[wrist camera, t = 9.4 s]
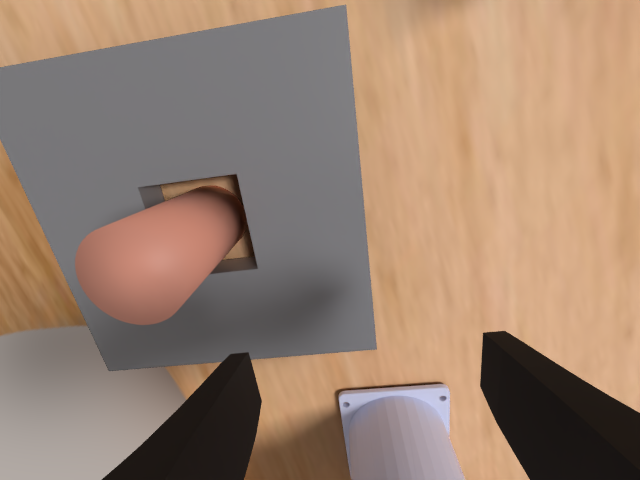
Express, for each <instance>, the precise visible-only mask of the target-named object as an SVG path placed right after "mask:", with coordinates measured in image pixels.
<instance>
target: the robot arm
mask: <svg viewBox="0 0 640 480" xmlns="http://www.w3.org/2000/svg"><path fill="white" fill-rule="evenodd" d="M480 387H481V389H482V391H483V394H484V396H485V398H486V400H487V403H488V405H489V407H490V409H491V412H492V414H493V416H494V418H495V420H496V422H497V424H498V426H499V428H500V429H501V431H502V433H503V434H504V436H505V438H506V440H507V441H508V443H509V445H510V447H511V448H512V450H513V452H514V453H515V455H516V457H517V458H518V460H519V462H520V464H521V465H522V467H523V469H524V470H525V472H526V474H527V475H528V477H529V479H530V480H640V413H639V412H637V411H635V410H633V409H632V408H630V407H628V406H626V405H625V404H623V403H621V402H619V401H618V400H616V399H614V398H612V397H611V396H609V395H607V394H605V393H604V392H602V391H600V390H599V389H597V388H595V387H594V386H592V385H590V384H589V383H587V382H585V381H584V380H582V379H581V378H579V377H577V376H576V375H574V374H572V373H571V372H569V371H568V370H566V369H564V368H563V367H561V366H560V365H558V364H556V363H555V362H553V361H552V360H550V359H549V358H547V357H545V356H544V355H542V354H541V353H539V352H538V351H536V350H534V349H533V348H531V347H530V346H528V345H527V344H525V343H524V342H522V341H520V340H519V339H517V338H516V337H514V336H512V335H511V334H509V333H507V332H506V331H499V332H486V333H483V346H482V364H481V383H480ZM441 396H442V397H441ZM261 402H262V401H261V397H260V393H259V389H258V386H257V382H256V378H255V374H254V370H253V367H252V363H251V359H250V355H249V352H246V353H234V354H230V355H229V356H228V357H227V358H226V359H225V360H224V361H223V362H222V363H221V364H220V365H219V366H218V367H217V368H216V369H215V370H214V372H213V373H212V374H211V375H210V376H209V377H208V378H207V379H206V380H205V381H204V382H203V383H202V384H201V386H200V387H199V388H198V389H197V390H196V391H195V392H194V393H193V394H192V395H191V396H190V397H189V398H188V399H187V400H186V401H185V402H184V404H182V406H181V407H180V408H179V409H178V410H177V411H176V412H175V413H174V414H173V415H172V416H171V417H169V419H168V420H166V421H165V422H164V423H163V424H162V425H161V426H160V427H159V428H158V429H157V430H156V431H155V432H154V433H153V434H152V435H151V436H150V437H149V438H148V439H147V440H146V441H145V442H144V443H143V444H142V445H141V446H140V447H138V448H137V449H136V450H135V451H134V452H133V453H132V454H131V455H130V456H128V457H127V458H126V459H125V460H124V461H123V462H122V463H121V464H119V465H118V466H117V467H116V468H115V469H114V470H112V471H111V472H110V473H109V474H108V475H107V476H105V477H104V478H103V479H102V480H244V477H245V474H246V470H247V467H248V463H249V459H250V456H251V452H252V449H253V445H254V441H255V437H256V433H257V427H258V421H259V415H260V408H261ZM345 402H348V403H345ZM339 405H340V412H341V418H342V425H343V431H344V438H345V445H346V451H347V458H348V464H349V471H350V477H351V480H465V478H464V475H463V472H462V470H461V467H460V464H459V462H458V459H457V456H456V454H455V451H454V449H453V446H452V443H451V441H450V438H449V421H450V391H449V388H448V387H447V385H445V384H433V385H419V386H405V387H390V388H376V389H362V390H348V391H342V392H340V393H339Z"/></svg>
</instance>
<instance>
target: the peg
mask: <svg viewBox="0 0 640 480" xmlns="http://www.w3.org/2000/svg"><path fill="white" fill-rule="evenodd" d="M246 223H247V220H246V213H245V210H244V208H243V206H242V204H241V202H240V201H239V200H238V198H237V197H236V196H235V195H234V194H232V193H231V192H229V191H228V190H226V189H224V188H221V187H218V186H202V187H199V188H196V189H194V190H192V191H189V192H187V193H184V194H182V195H179V196H177V197H174V198H172V199H170V200H167V201H165V202H162V203H160V204H157V205H155V206H152V207H150V208H148V209H145V210H143V211H140V212H138V213H135V214H133V215H130V216H128V217H125V218H123V219H121V220H118V221H116V222H113V223H111V224H108V225H106V226H103V227H101V228H99V229H96V230H94V231H93V232H91V233H90V234H88V235H87V236H86V237H85V238H84V239H83V240H82V242H81V243H80V245H79V247H78V250H77V252H76V257H75V269H76V274H77V278H78V281H79V283H80V285H81V287H82V289H83V291H84V292H85V294H86V295H87V297H88V298H89V299H90V300H91V301H92V302H93V303H94V304H95V305H96V306H97V307H98V308H99V309H101V310H102V311H103V312H105V313H106V314H108V315H110V316H112V317H113V318H115V319H118V320H120V321H123V322H127V323H131V324H136V325H150V324H156V323H159V322H162V321H164V320H167V319H168V318H170V317H171V316H172V315H174V314H175V313H176V312H177V311H178V309H179V308H180V307H181V306H182V305H183V304H184V303H185V301H186V300H187V299H188V298H189V297H190V296H191V295H192V293H193V292H194V291H195V290H196V289H197V288H198V287H199V285H200V284H201V283H202V282H203V281H204V280H205V279H206V277H207V276H208V275H209V274H210V273H211V272H212V271H213V269H214V268H215V267H216V266H217V265H218V264H219V263H220V261H221V260H222V259H223V258H224V257H225V256H226V255H227V253H228V252H229V251H230V250H231V249H232V248H233V247H234V246H235V244H236V243H237V242H238V241H239V240H240V239H241V237H242V236H243V234H244V232H245V229H246Z"/></svg>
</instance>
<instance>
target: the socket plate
mask: <svg viewBox="0 0 640 480" xmlns="http://www.w3.org/2000/svg"><path fill="white" fill-rule="evenodd" d="M0 140H1V142H2V144H3V146H4V148H5V150H6V153H7V155H8V157H9V159H10V161H11V163H12V165H13V167H14V170H15V172H16V174H17V176H18V178H19V180H20V182H21V185H22V187H23V189H24V191H25V193H26V195H27V197H28V200H29V202H30V204H31V206H32V208H33V210H34V212H35V214H36V217H37V219H38V221H39V223H40V225H41V227H42V229H43V232H44V234H45V236H46V238H47V240H48V242H49V244H50V246H51V249H52V251H53V253H54V255H55V257H56V259H57V261H58V264H59V266H60V268H61V270H62V272H63V274H64V276H65V278H66V281H67V283H68V285H69V287H70V289H71V291H72V293H73V296H74V298H75V300H76V302H77V304H78V306H79V308H80V310H81V313H82V315H83V317H84V319H85V321H86V323H87V325H88V328H89V330H90V332H91V334H92V336H93V338H94V340H95V342H96V344H97V347H98V349H99V351H100V353H101V355H102V357H103V360H104V362H105V364H106V366H107V368H108V370H109V371H116V370H128V369H140V368H151V367H152V368H153V367H165V366H178V365H190V364H202V363H215V362H223V361H224V360H225V359H226V358H227V357H228V356H229V355H230V354H234V353H246V352H249V355H250V359H251V360H252V359H264V358H276V357H288V356H301V355H313V354H325V353H338V352H350V351H362V350H375V349H377V346H376V335H375V324H374V312H373V301H372V290H371V279H370V268H369V256H368V245H367V234H366V223H365V211H364V200H363V189H362V178H361V167H360V155H359V144H358V133H357V122H356V111H355V99H354V88H353V77H352V66H351V55H350V43H349V32H348V21H347V10H346V5H341V6H336V7H330V8H325V9H319V10H314V11H308V12H303V13H297V14H292V15H286V16H281V17H275V18H270V19H264V20H259V21H253V22H248V23H242V24H237V25H231V26H226V27H220V28H215V29H209V30H204V31H198V32H193V33H187V34H182V35H176V36H171V37H165V38H160V39H154V40H149V41H143V42H138V43H132V44H127V45H121V46H116V47H110V48H105V49H99V50H94V51H88V52H83V53H77V54H72V55H66V56H61V57H55V58H50V59H44V60H39V61H33V62H27V63H22V64H16V65H11V66H5V67H0ZM232 174H237V178H238V182H239V187H240V191H241V196H242V200H243V204H244V209H245V213H246V218H247V222H248V227H249V231H250V235H251V240H252V244H253V249H254V253H255V257H246V258H237V259H228V260H221V261H220V263H219V264H218V265H217V266H216V267H215V268H214V269H213V271H212V272H211V273H210V274H209V275H208V276H207V277H206V279H205V280H204V281H203V282H202V283H201V284H200V285H199V287H198V288H197V289H196V290H195V291H194V292H193V293H192V295H191V296H190V297H189V298H188V299H187V300H186V301H185V303H184V304H183V305H182V306H181V307H180V308H179V309H178V311H177V312H176V313H175V314H174V315H172V316H171V317H170V318H168V319H167V320H164V321H162V322H159V323H156V324H150V325H136V324H131V323H127V322H123V321H120V320H118V319H115V318H113V317H112V316H110V315H108V314H106V313H105V312H103V311H102V310H101V309H99V308H98V307H97V306H96V305H95V304H94V303H93V302H92V301H91V300H90V299H89V298H88V297H87V295H86V294H85V292H84V291H83V289H82V287H81V285H80V283H79V281H78V278H77V274H76V269H75V257H76V252H77V250H78V247H79V245H80V243H81V242H82V240H83V239H84V238H85V237H86V236H87V235H88V234H90V233H91V232H93V231H94V230H96V229H99V228H101V227H103V226H106V225H108V224H111V223H113V222H116V221H118V220H121V219H123V218H125V217H128V216H130V215H133V214H135V213H138V212H140V211H143V210H145V209H148V208H150V207H152V206H155V205H157V204H160V203H162V202H165V200H164V197H163V194H162V190H161V187H160V184H166V183H173V182H180V181H188V180H195V179H202V178H210V177H217V176H224V175H232Z"/></svg>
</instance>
